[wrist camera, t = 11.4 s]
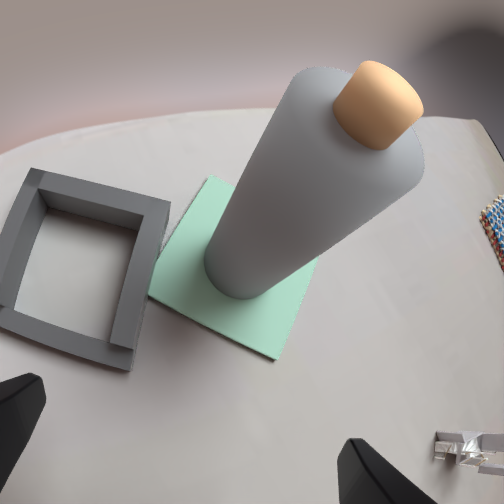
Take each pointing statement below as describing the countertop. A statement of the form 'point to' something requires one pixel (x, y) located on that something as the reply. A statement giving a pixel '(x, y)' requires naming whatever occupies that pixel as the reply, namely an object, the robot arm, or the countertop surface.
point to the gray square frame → (95, 207)
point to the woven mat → (495, 226)
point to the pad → (212, 300)
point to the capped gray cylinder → (317, 175)
